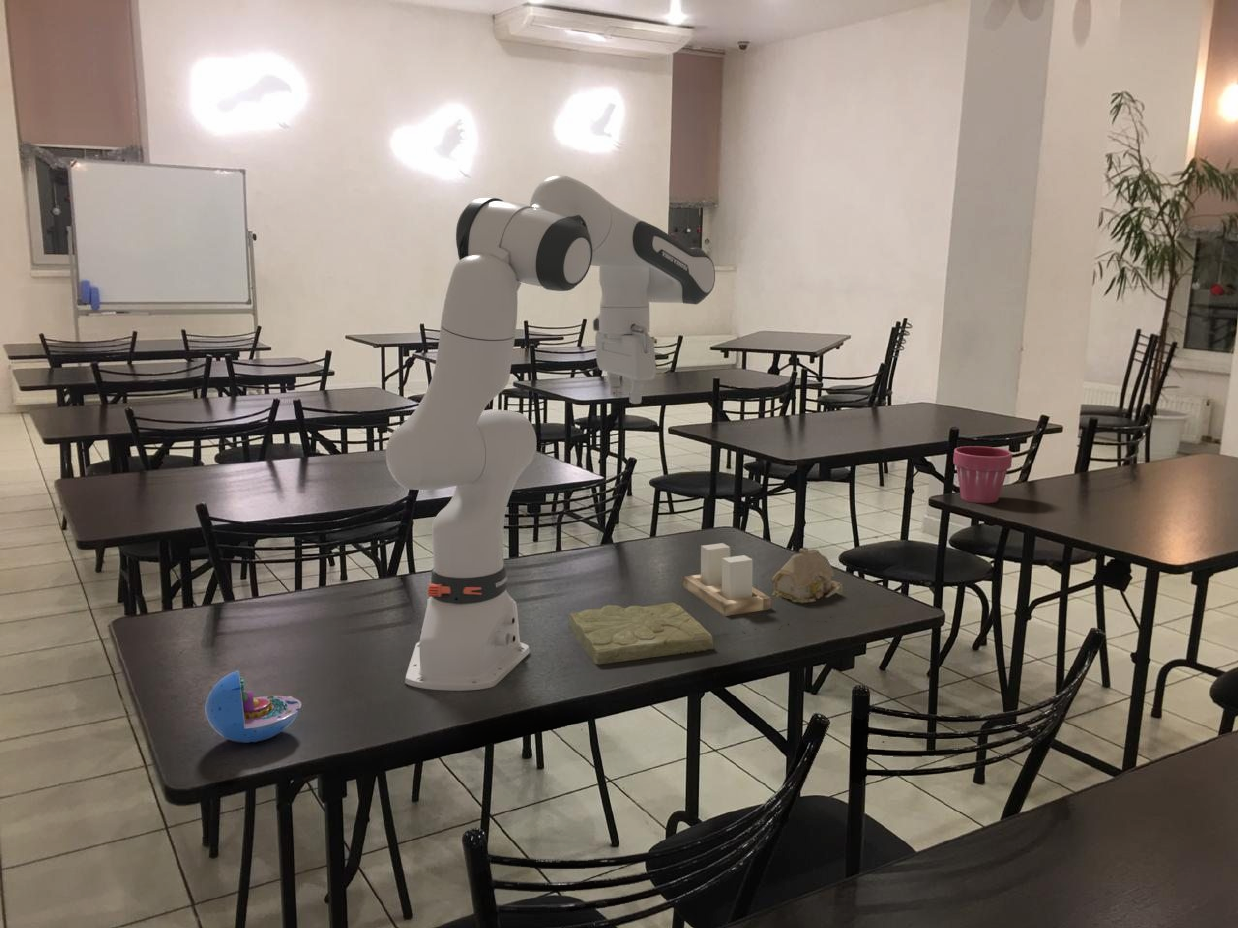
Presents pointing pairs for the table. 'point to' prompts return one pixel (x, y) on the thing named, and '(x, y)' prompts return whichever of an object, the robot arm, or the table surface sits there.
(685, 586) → the rack
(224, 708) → the cell model
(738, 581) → the white rectangular block
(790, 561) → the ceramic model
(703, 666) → the table surface
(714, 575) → the white upright prism
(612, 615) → the decorative tile
